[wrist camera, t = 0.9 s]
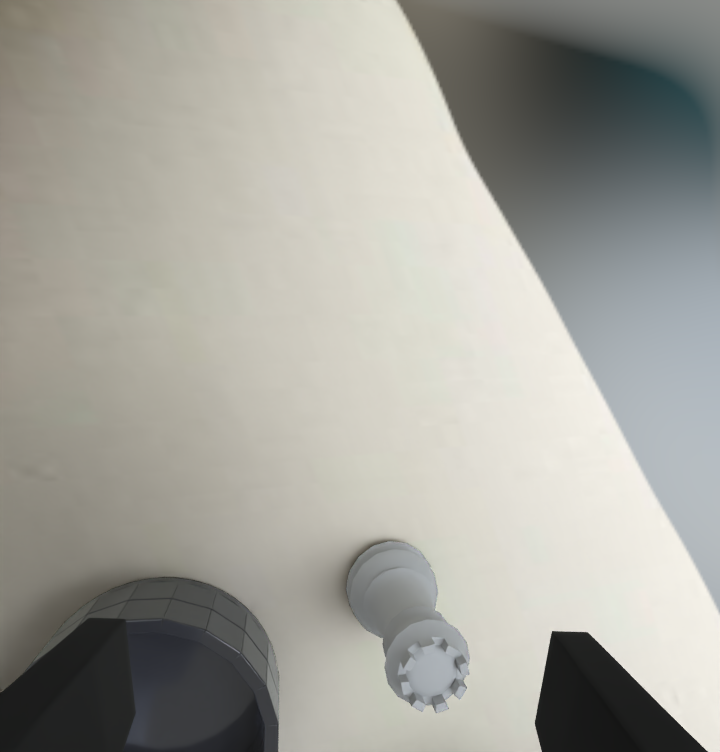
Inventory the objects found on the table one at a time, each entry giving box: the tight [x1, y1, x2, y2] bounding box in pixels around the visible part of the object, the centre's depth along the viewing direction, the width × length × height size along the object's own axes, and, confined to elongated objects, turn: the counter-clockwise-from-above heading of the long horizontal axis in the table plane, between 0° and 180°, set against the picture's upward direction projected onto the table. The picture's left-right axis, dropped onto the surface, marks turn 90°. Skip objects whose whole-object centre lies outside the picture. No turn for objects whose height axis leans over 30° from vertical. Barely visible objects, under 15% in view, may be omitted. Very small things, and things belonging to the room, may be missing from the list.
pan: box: [23, 578, 279, 752], centre depth 23 cm, size 11×11×4 cm
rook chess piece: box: [346, 541, 470, 713], centre depth 22 cm, size 4×4×8 cm
